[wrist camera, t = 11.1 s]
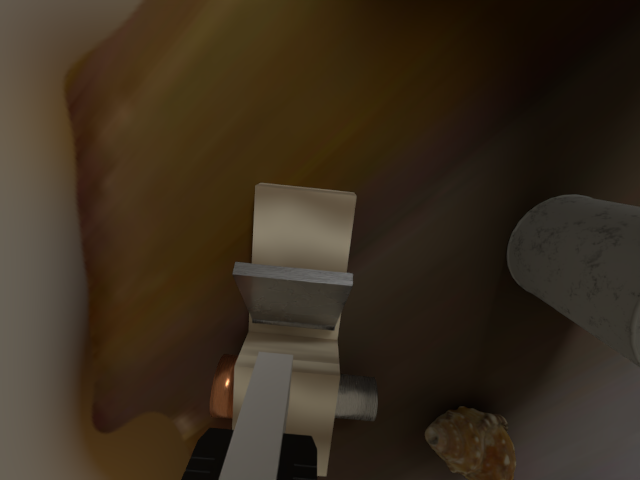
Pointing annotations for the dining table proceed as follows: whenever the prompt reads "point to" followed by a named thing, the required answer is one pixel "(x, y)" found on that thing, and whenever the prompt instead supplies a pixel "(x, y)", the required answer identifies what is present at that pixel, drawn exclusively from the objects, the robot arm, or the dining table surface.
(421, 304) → the dining table surface
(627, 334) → the grey stone cylinder
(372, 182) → the dining table surface
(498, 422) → the seashell
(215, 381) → the pin
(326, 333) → the block
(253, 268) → the latch flap
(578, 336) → the dining table surface
